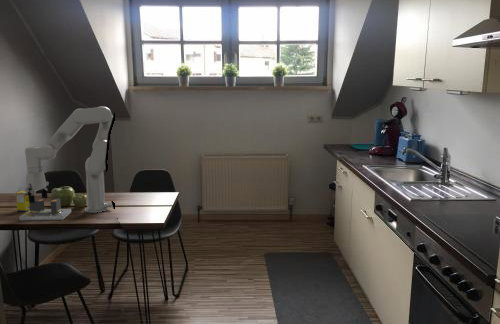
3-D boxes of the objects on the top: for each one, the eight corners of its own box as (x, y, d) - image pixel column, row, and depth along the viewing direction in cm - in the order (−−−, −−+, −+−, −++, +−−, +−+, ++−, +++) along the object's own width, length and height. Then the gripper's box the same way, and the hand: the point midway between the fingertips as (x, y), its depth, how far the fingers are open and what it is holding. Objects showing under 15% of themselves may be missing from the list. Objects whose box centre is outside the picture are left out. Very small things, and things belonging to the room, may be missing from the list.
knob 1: (34, 210, 241) (33, 198, 240) (45, 211, 239) (45, 199, 238) (28, 212, 236) (27, 200, 235) (39, 213, 235) (39, 201, 234)
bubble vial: (50, 213, 235) (50, 210, 235) (49, 214, 233) (48, 211, 233) (40, 213, 235) (40, 210, 234) (38, 214, 233) (38, 211, 232)
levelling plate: (71, 212, 246) (71, 208, 246) (62, 219, 231) (62, 215, 231) (30, 212, 244) (30, 209, 244) (19, 220, 229) (19, 216, 229)
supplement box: (33, 209, 251) (32, 191, 249) (25, 212, 245) (24, 193, 244) (25, 208, 252) (23, 190, 251) (17, 211, 247) (15, 192, 245)
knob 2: (62, 209, 242) (62, 198, 241) (58, 213, 236) (57, 201, 235) (53, 210, 242) (53, 198, 241) (49, 213, 235) (48, 201, 234)
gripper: (40, 166, 243) (43, 196, 246) (17, 172, 227) (21, 204, 230) (51, 166, 242) (55, 196, 245) (29, 172, 225) (33, 204, 228)
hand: (38, 200), depth 237 cm, fingers open, 9 cm apart
